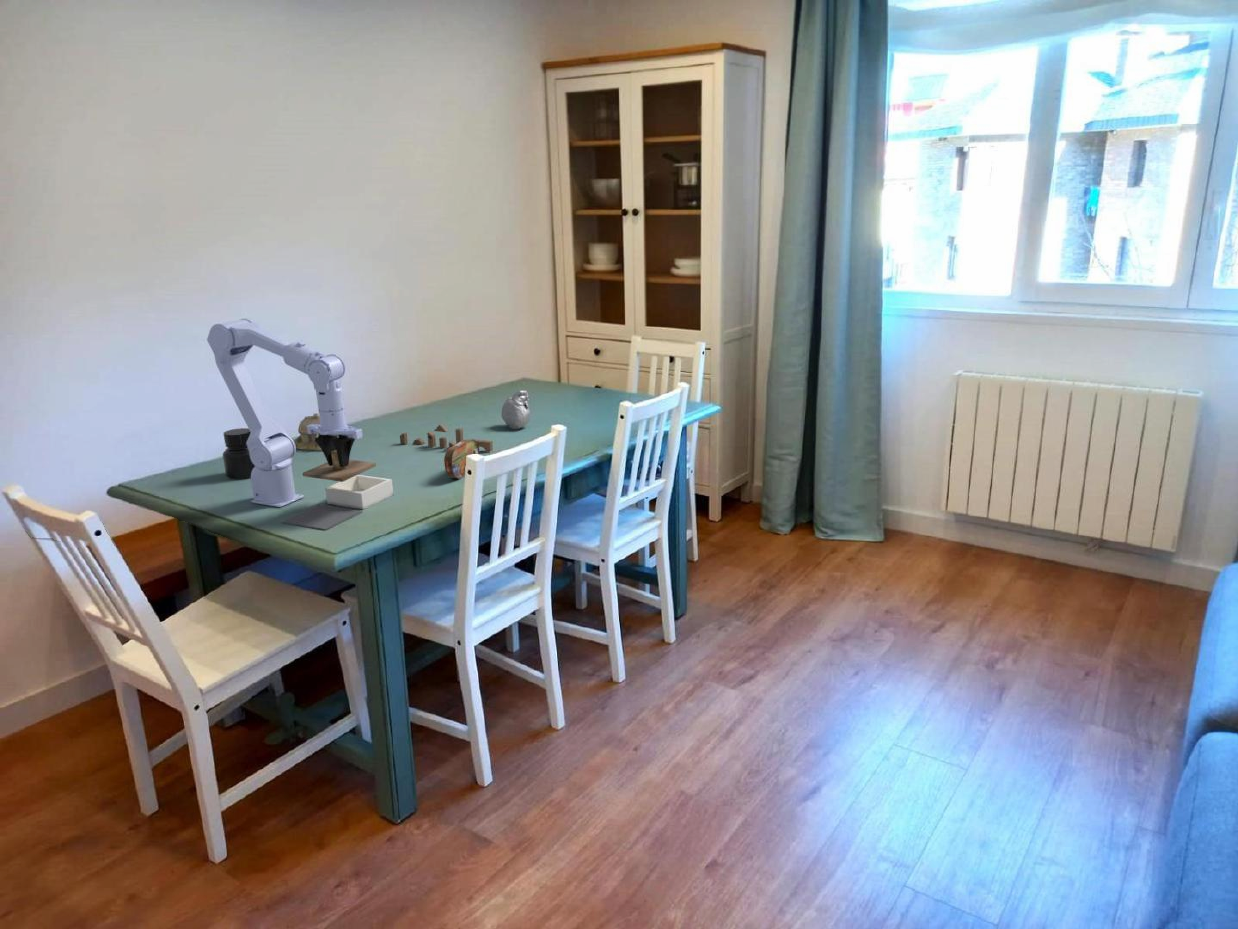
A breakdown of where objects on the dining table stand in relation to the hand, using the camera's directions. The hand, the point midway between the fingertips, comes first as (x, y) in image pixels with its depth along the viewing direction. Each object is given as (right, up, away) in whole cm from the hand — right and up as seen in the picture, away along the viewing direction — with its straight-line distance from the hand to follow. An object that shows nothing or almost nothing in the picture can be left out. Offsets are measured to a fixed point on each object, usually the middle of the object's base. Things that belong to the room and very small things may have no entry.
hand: (338, 465), depth 202 cm
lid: (0, -1, +1) cm, 1 cm away
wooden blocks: (+15, +5, +50) cm, 52 cm away
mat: (-3, -12, -3) cm, 13 cm away
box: (+3, -8, +8) cm, 12 cm away
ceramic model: (-23, +5, +54) cm, 59 cm away
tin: (+24, -2, +26) cm, 36 cm away
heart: (+33, +12, +69) cm, 78 cm away
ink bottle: (-35, -3, +29) cm, 45 cm away
